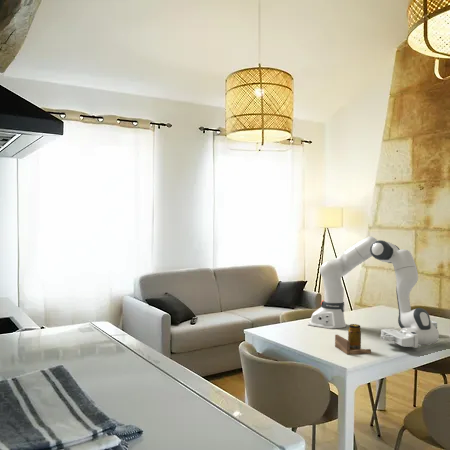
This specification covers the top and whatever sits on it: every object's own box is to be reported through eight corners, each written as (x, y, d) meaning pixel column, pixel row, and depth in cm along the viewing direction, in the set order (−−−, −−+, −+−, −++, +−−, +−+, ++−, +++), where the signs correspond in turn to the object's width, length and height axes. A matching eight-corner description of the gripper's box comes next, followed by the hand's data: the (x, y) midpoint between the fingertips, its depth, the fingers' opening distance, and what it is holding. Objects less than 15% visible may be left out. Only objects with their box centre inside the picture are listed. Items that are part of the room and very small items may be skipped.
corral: (357, 345, 239) (357, 333, 239) (370, 353, 226) (371, 340, 226) (334, 346, 237) (335, 334, 236) (347, 354, 223) (347, 341, 223)
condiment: (351, 346, 237) (352, 322, 237) (367, 350, 231) (367, 325, 231) (344, 349, 232) (344, 325, 231) (360, 353, 226) (360, 328, 225)
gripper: (395, 325, 247) (371, 326, 244) (419, 335, 227) (393, 336, 224) (395, 337, 248) (371, 338, 245) (419, 348, 228) (393, 350, 225)
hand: (382, 337), depth 234 cm, fingers closed
